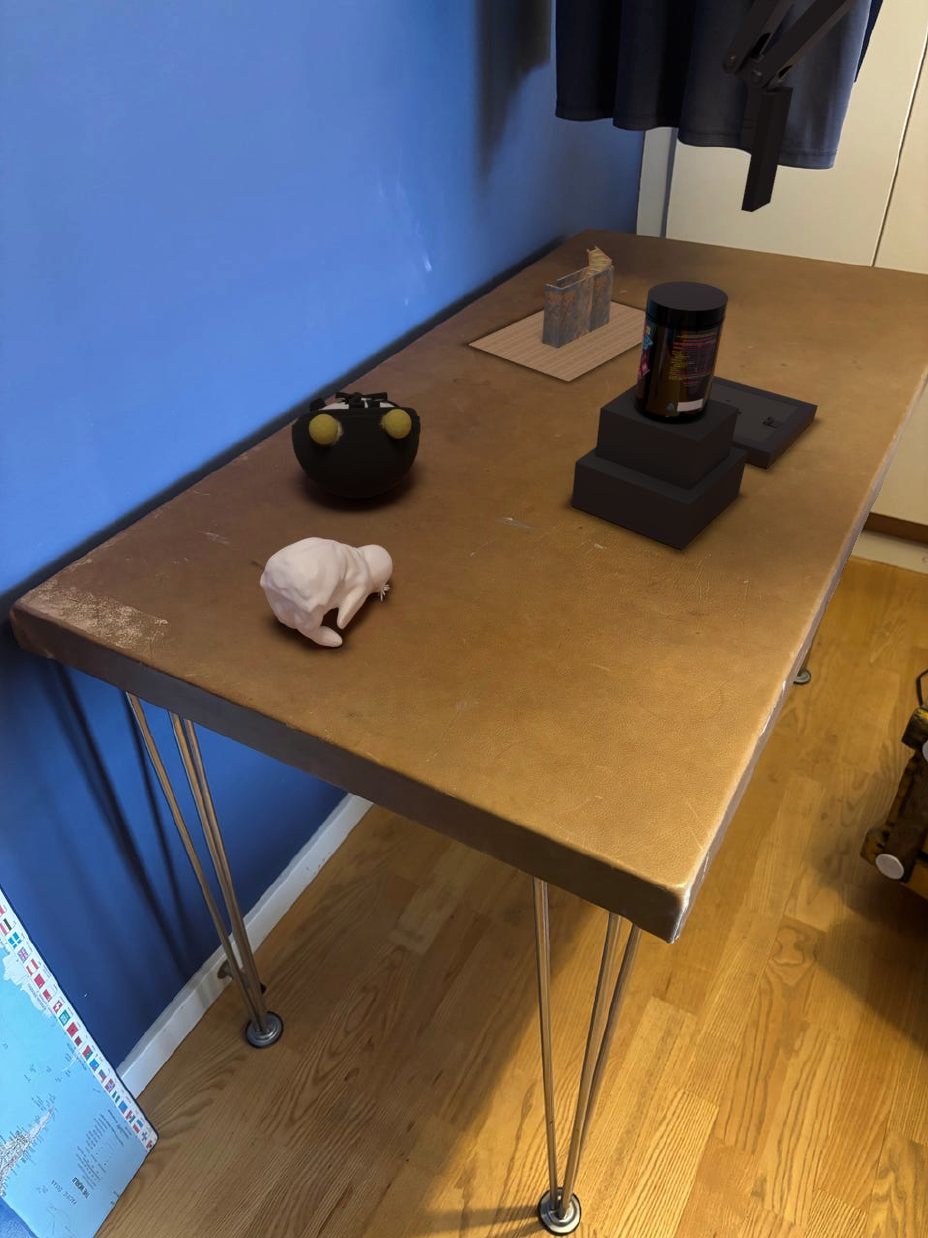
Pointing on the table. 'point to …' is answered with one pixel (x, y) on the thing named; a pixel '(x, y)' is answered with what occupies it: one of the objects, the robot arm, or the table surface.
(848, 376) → the table surface
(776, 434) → the picture frame
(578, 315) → the architectural model on board
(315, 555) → the white clay creature
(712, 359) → the supplement container
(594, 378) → the table surface
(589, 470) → the dark rectangular box
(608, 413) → the top pad
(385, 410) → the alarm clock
